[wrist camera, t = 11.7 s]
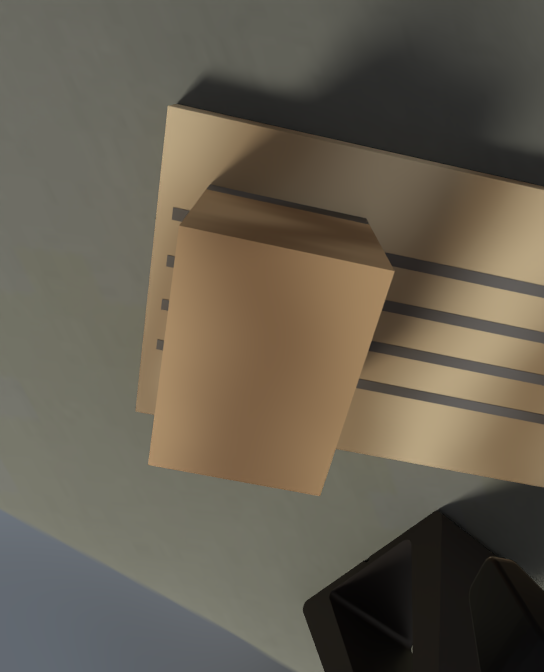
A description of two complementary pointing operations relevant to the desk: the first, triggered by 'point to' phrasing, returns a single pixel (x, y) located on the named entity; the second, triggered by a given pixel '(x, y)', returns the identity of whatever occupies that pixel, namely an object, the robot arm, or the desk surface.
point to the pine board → (394, 287)
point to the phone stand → (403, 605)
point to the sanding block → (265, 338)
